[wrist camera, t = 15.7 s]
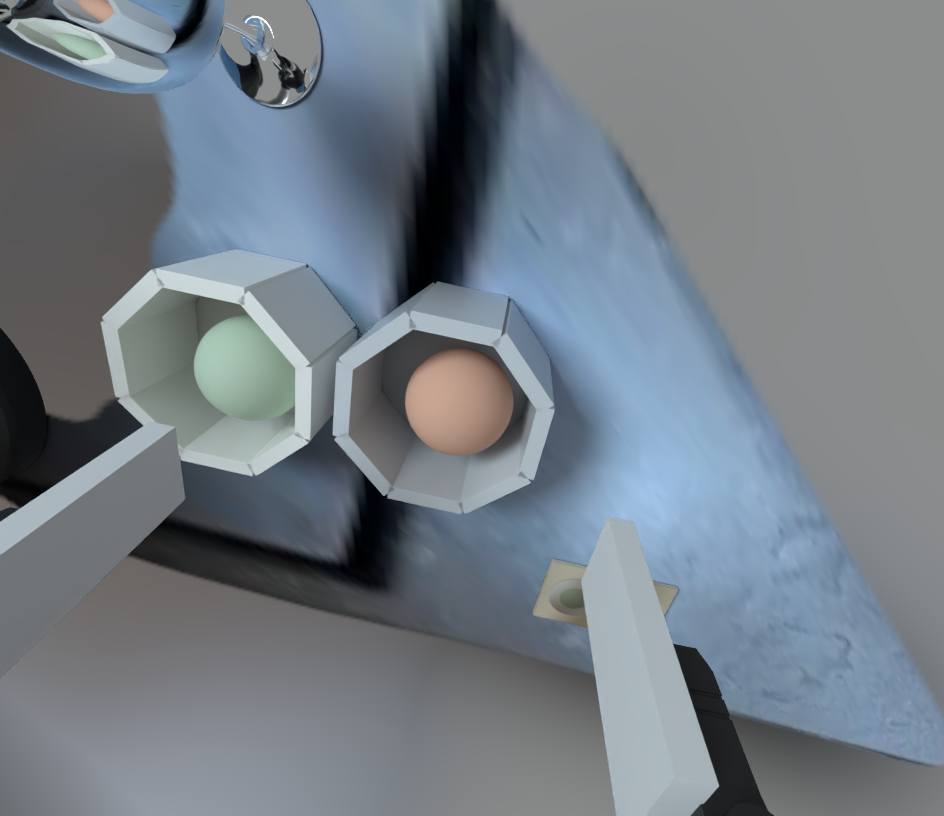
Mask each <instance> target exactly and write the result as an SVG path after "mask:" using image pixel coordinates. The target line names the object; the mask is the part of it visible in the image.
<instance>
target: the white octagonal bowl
mask: <svg viewBox="0 0 944 816" xmlns="http://www.w3.org/2000/svg"><path fill="white" fill-rule="evenodd" d="M306 265H307V264H304V263H300V262H295V261H290V260H286V259H281V258H276V257H272V256H267V255H262V254H258V253H253V252H248V251H244V250H239V249H236V250H232V251H227V252H223V253H219V254H215V255H210V256H206V257H202V258H198V259H194V260H189V261H185V262H181V263H177V264H172V265H168V266H164V267H160V268H155V269H151V270H150V271H149V272H148V273H147V274H146V275H145V276H144V277H143V278H142V279H141V280H140V281H139V282H138V283H137V284H136V285H135V286H134V287H133V288H132V289H131V290H130V291H129V292H128V293H126V294H125V295H124V296H123V298H121V299H120V300H119V301H118V302H117V303H116V304H115V305H114V306H113V307H112V308H111V309H110V310H109V311H108V312H107V313H106V314H105V315H104V316H103V317H102V319H103V320H104V321H102V322H101V327H102V332H103V337H104V342H105V347H106V352H107V357H108V363H109V367H110V372H111V378H112V383H113V388H114V393H115V397H119V398H120V399H119V400H118V402H119V403H120V404H121V405H122V406H124V407H125V408H126V409H127V410H128V411H129V412H130V413H131V414H132V415H133V416H134V417H135V418H136V419H137V420H138V421H139V422H140V423H141V424H142V425H143V426H144V425H146V424H147V423H149V422H154V423H159V424H164V425H169V426H174V427H176V434H177V441H178V448H179V456H181V460H182V461H186V462H191V463H195V464H200V465H204V466H209V467H213V468H218V469H222V470H227V471H231V472H235V473H240V474H244V475H249V476H253V475H254V474H255V475H256V476H257V475H259V474H260V473H262V472H263V471H265V470H267V469H268V468H270V467H271V466H273V465H275V464H276V463H278V462H279V461H281V460H282V459H284V458H286V457H287V456H289V455H290V454H292V453H294V452H295V451H297V450H298V449H300V448H302V447H303V446H305V445H306V444H308V443H309V442H310V441H311V440H312V438H313V437H314V436H315V435H316V434H317V432H318V431H319V430H320V429H321V428H322V427H323V425H324V424H325V423H326V422H327V421H328V419H329V418H330V417H331V416H332V415H333V414H334V397H335V377H336V362H337V361H338V360H339V357H340V356H341V355H342V354H344V353H345V352H346V351H347V350H348V349H349V348H350V347H351V346H352V345H353V344H354V343H355V342H356V341H357V329H354V328H353V327H355V326H356V325H355V323H354V322H353V321H352V319H351V318H350V317H349V316H348V314H347V313H346V312H345V310H344V309H343V308H342V307H341V305H340V304H339V303H338V301H337V300H336V299H335V298H334V296H333V295H332V294H331V292H330V291H329V290H328V289H327V287H326V286H325V285H324V283H323V282H322V281H321V280H320V278H319V277H318V276H317V274H316V273H315V272H314V271H313V269H312V268H311V267H308V268H306ZM239 315H250V316H251V317H252V319H253V320H254V321H255V322H256V323H257V324H258V326H259V327H260V328H261V329H262V330H263V331H264V333H265V334H266V335H267V336H268V337H269V338H270V340H271V341H272V342H273V343H274V344H275V345H276V347H277V348H278V349H279V350H280V351H281V352H282V354H283V355H284V356H285V357H286V358H287V359H288V361H289V362H290V363H291V364H292V365H293V366H294V368H295V406H294V407H293V408H291V409H290V410H288V411H287V412H285V413H284V414H282V415H279V416H277V417H274V418H271V419H266V420H259V421H250V420H242V419H238V418H235V417H232V416H229V415H227V414H225V413H223V412H221V411H220V410H218V409H217V408H215V407H214V406H213V405H212V404H211V403H210V402H209V401H208V400H207V399H206V398H205V397H204V395H203V394H202V392H201V390H200V388H199V386H198V384H197V382H196V379H195V373H194V358H195V353H196V350H197V347H198V345H199V343H200V341H201V340H202V338H203V337H204V336H205V334H206V333H207V332H208V331H209V330H210V329H211V328H212V327H214V326H215V325H217V324H218V323H219V322H221V321H224V320H226V319H228V318H231V317H234V316H239Z"/></svg>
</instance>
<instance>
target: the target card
mask: <svg viewBox="0 0 944 816" xmlns="http://www.w3.org/2000/svg"><path fill="white" fill-rule="evenodd" d="M586 568H587V566H583V565H579V564H574V563H570V562H565V561H561V560H557V559H552V560H551V562H550V565H549V568H548V571H547V574H546V576H545V579H544V582H543V585H542V587H541V590H540V593H539V596H538V598H537V601H536V604H535V607H534V609H533V615H534V616H539V617H543V618H548V619H552V620H556V621H561V622H565V623H570V624H574V625H578V626H583V627H587V628H588V624H587V618H586V611H585V604H584V598H583V591H582V584H581V580H582V578H583V575H584V573H585V571H586ZM653 584H654V587H655V590H656V594H657V597H658V600H659V603H660V606H661V609H662V612H663V615H665V613H666V611H667V609H668V608H669V606H670V604H671V602H672V601H673V599H674V597H675V595H676V593H677V592H678V588H677V587H676V586H672V585H668V584H663V583H659V582H654V581H653Z"/></svg>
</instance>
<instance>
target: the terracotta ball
mask: <svg viewBox="0 0 944 816" xmlns="http://www.w3.org/2000/svg"><path fill="white" fill-rule="evenodd" d="M405 406H406V413H407V417H408V420H409V422H410V425H411V427H412V429H413V430H414V432H415V433H416V434H417V436H418V437H419V438H420V439H421V440H422V441H423V442H424V443H425V444H426V445H428V446H429V447H431V448H432V449H434V450H436V451H438V452H441V453H444V454H448V455H455V456H463V455H471V454H474V453H478V452H480V451H482V450H484V449H486V448H488V447H489V446H491V445H492V444H494V443H495V442H496V441H497V440H498V439H499V438H500V437H501V435H502V434H503V433H504V431H505V430H506V428H507V426H508V424H509V422H510V419H511V416H512V411H513V392H512V388H511V384H510V382H509V379H508V377H507V375H506V374H505V372H504V371H503V369H502V368H501V367H500V366H499V364H498V363H496V362H495V361H494V360H493V359H492V358H490V357H489V356H487V355H486V354H484V353H482V352H479V351H476V350H473V349H468V348H450V349H445V350H442V351H439V352H437V353H435V354H433V355H431V356H430V357H428V358H427V359H426V360H424V361H423V362H422V363H421V364H420V365H419V366H418V367H417V369H416V370H415V371H414V373H413V375H412V377H411V379H410V381H409V383H408V386H407V391H406V397H405Z"/></svg>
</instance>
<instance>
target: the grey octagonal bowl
mask: <svg viewBox="0 0 944 816" xmlns="http://www.w3.org/2000/svg"><path fill="white" fill-rule="evenodd" d="M508 298H509V297H507V296H503V295H498V294H493V293H489V292H484V291H479V290H475V289H470V288H465V287H461V286H456V285H451V284H447V283H442V282H437V283H436V284H434V282H433V283H432V284H430V285H429V286H428V287H426V288H425V289H423V290H422V291H420V292H419V293H418V294H416V295H415V296H413V297H412V298H411V299H409V300H408V301H406V302H405V303H403V304H402V305H401V306H399V307H398V308H396V309H395V310H393V311H392V312H391V313H389V314H388V315H386V316H385V317H384V318H382V319H381V320H379V321H378V322H377V323H376V324H375V325H374V326H373V327H372V328H371V329H369V330H368V331H367V332H366V333H365V334H364V335H363V336H362V337H361V338H360V339H359V340H358V341H356V342H355V343H354V344H353V345H352V346H351V347H350V348H349V349H348V350H347V351H346V352H345V353H344V354H342V355H341V356H340V357H339V360H338V361H337V362H336V377H335V397H334V416H333V436H336V438H335V439H334V440H335V441H336V442H337V443H338V444H339V446H340V447H341V448H342V449H343V450H344V451H345V452H346V454H347V455H348V456H349V457H350V458H351V459H352V460H353V462H354V463H355V464H356V465H357V466H358V467H359V468H360V470H361V471H362V472H363V473H364V474H365V475H366V476H367V478H368V479H369V480H370V481H371V482H372V483H373V484H374V485H375V487H376V488H377V489H378V490H379V491H380V492H381V493H382V495H383V496H384V495H386V494H388V498H389V499H394V500H398V501H403V502H407V503H412V504H416V505H420V506H425V507H429V508H434V509H438V510H443V511H447V512H452V513H456V514H461V513H462V511H463V512H464V513H465V514H467V513H469V512H471V511H473V510H475V509H477V508H479V507H482V506H484V505H486V504H488V503H490V502H492V501H494V500H496V499H498V498H501V497H503V496H505V495H507V494H509V493H511V492H513V491H515V490H517V489H520V488H522V487H524V486H526V485H528V484H530V483H531V480H534V477H535V474H536V471H537V467H538V464H539V461H540V458H541V454H542V451H543V448H544V444H545V441H546V438H547V435H548V431H549V428H550V425H551V421H552V418H553V415H554V412H555V405H554V396H553V386H552V376H551V366H550V358H549V356H548V355H547V353H546V351H545V350H544V348H543V347H542V345H541V344H540V342H539V340H538V339H537V337H536V336H535V334H534V333H533V331H532V329H531V328H530V326H529V325H528V323H527V322H526V320H525V318H524V317H523V315H522V314H521V312H520V311H519V309H518V307H517V306H516V304H515V303H514V301H513V300H510V301H509V302H508ZM450 348H468V349H473V350H476V351H479V352H482V353H484V354H486V355H487V356H489V357H490V358H492V359H493V360H494V361H495V362H496V363H498V364H499V366H500V367H501V368H502V369H503V371H504V372H505V374H506V375H507V377H508V379H509V382H510V384H511V388H512V392H513V411H512V416H511V419H510V422H509V424H508V426H507V428H506V430H505V431H504V433H503V434H502V435H501V437H500V438H499V439H498V440H497V441H496V442H495V443H494V444H492V445H491V446H489V447H488V448H486V449H484V450H482V451H480V452H478V453H474V454H471V455H463V456H455V455H448V454H444V453H441V452H438V451H436V450H434V449H432V448H431V447H429V446H428V445H426V444H425V443H424V442H423V441H422V440H421V439H420V438H419V437H418V436H417V434H416V433H415V432H414V430H413V429H412V427H411V425H410V422H409V420H408V417H407V413H406V406H405V397H406V391H407V386H408V383H409V381H410V379H411V377H412V375H413V373H414V371H415V370H416V369H417V367H418V366H419V365H420V364H421V363H422V362H423V361H424V360H426V359H427V358H428V357H430V356H431V355H433V354H435V353H437V352H439V351H442V350H445V349H450Z"/></svg>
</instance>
